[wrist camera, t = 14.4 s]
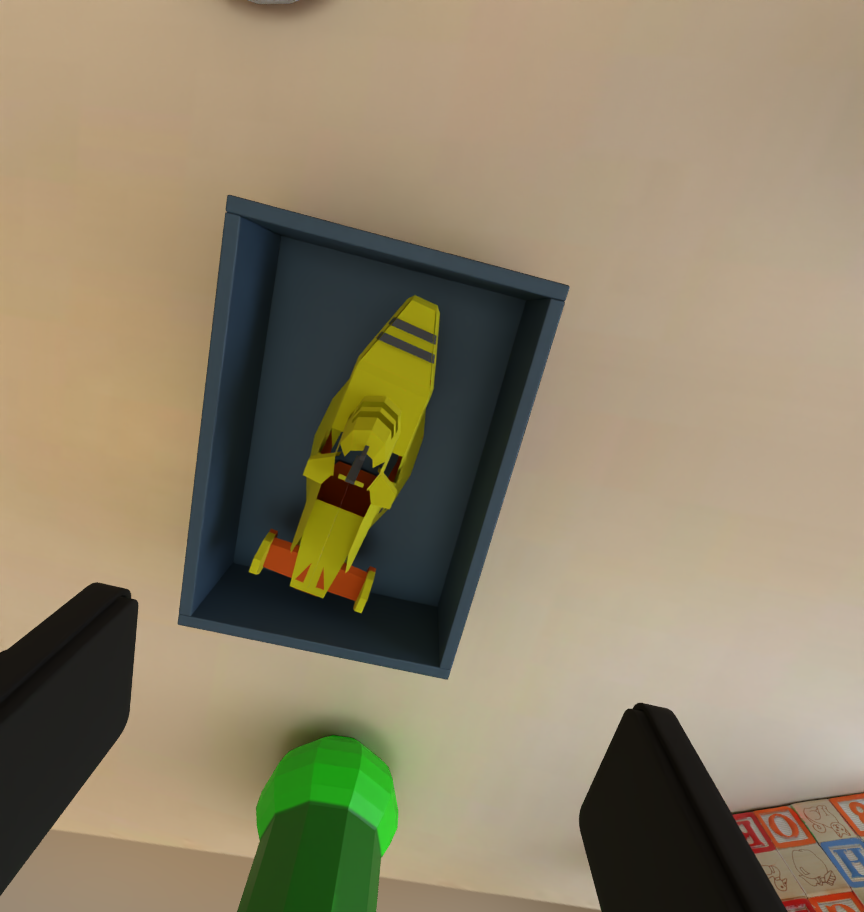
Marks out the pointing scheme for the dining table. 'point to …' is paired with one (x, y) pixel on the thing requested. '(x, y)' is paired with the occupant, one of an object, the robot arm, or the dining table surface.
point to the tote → (299, 416)
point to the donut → (273, 1)
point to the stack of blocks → (811, 852)
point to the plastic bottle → (322, 830)
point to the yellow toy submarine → (360, 458)
